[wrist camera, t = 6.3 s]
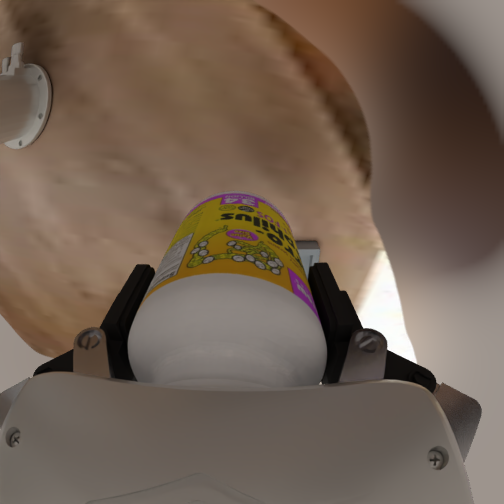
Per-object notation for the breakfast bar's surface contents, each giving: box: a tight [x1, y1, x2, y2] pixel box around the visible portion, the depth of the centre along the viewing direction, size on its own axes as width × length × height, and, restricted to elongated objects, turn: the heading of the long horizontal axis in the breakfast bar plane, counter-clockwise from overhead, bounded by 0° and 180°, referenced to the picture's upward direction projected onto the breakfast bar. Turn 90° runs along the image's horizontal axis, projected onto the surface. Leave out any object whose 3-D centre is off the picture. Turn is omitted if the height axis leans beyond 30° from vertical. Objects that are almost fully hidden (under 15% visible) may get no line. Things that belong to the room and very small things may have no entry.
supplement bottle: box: [128, 191, 327, 388], centre depth 11 cm, size 7×7×13 cm
